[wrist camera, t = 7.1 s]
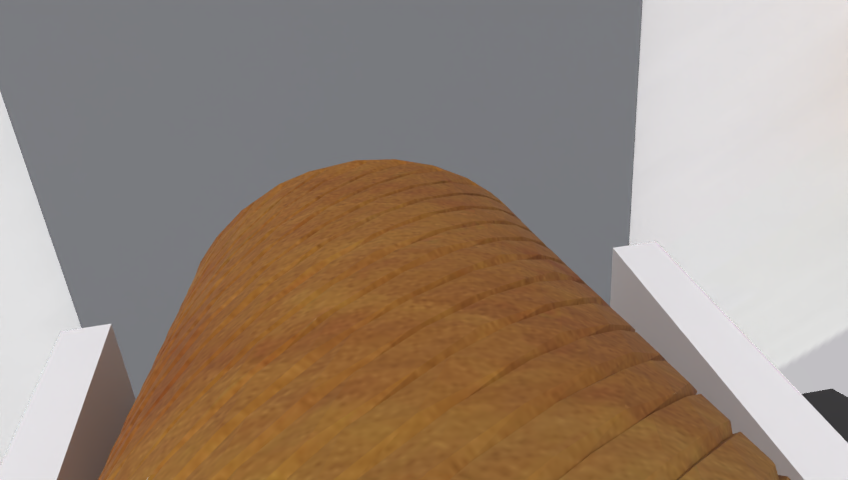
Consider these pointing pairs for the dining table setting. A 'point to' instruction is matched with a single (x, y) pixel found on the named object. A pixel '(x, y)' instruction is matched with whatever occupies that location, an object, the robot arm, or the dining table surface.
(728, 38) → the dining table surface
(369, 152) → the mat
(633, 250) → the robot arm
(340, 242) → the disposable coffee cup
